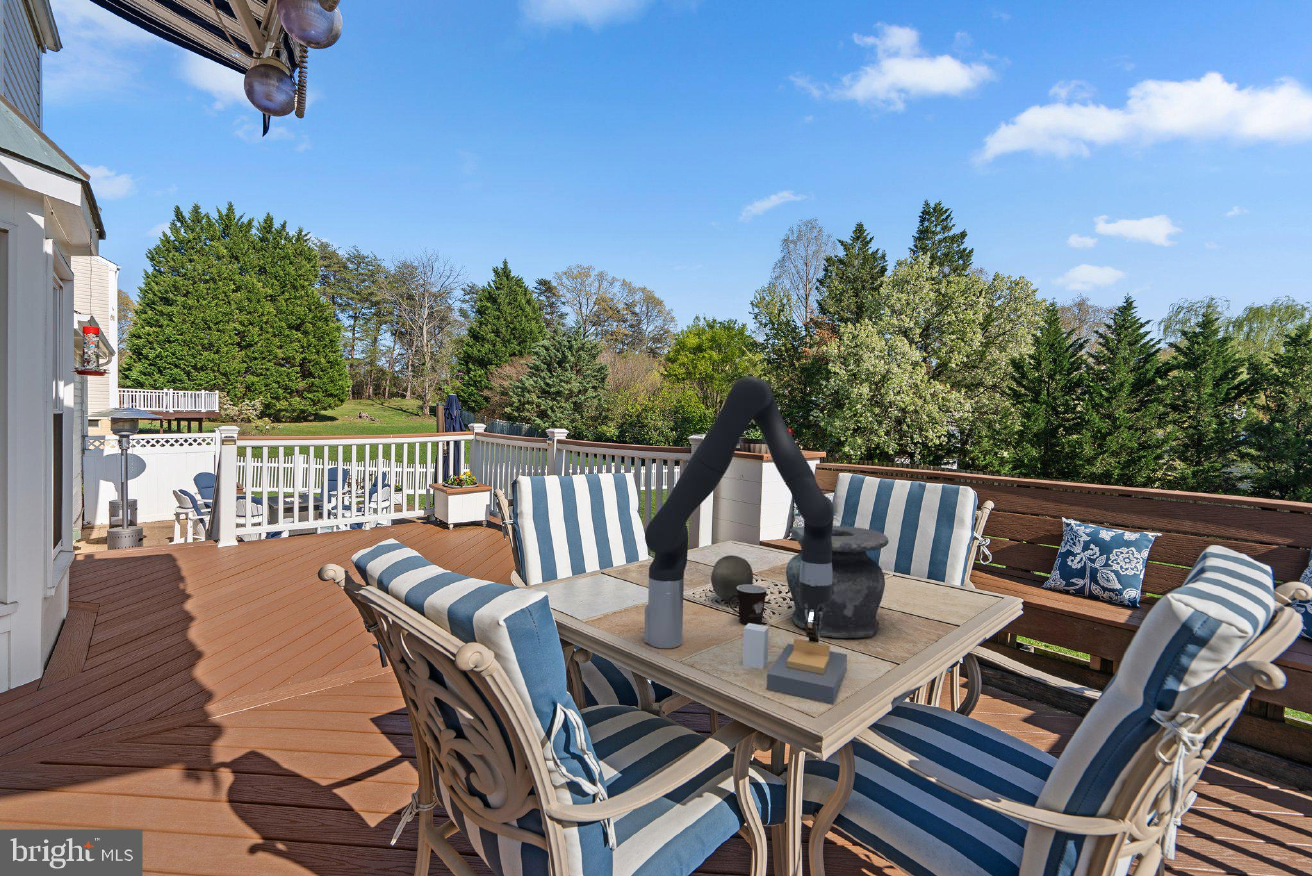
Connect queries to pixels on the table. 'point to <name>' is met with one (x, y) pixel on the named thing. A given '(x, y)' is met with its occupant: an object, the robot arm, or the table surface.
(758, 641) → the plug
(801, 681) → the socket plate
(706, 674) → the table surface
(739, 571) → the grey stone ball
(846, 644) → the table surface
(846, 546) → the clay pot
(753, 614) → the coffee mug
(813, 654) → the tan l-shaped block
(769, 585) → the table surface
